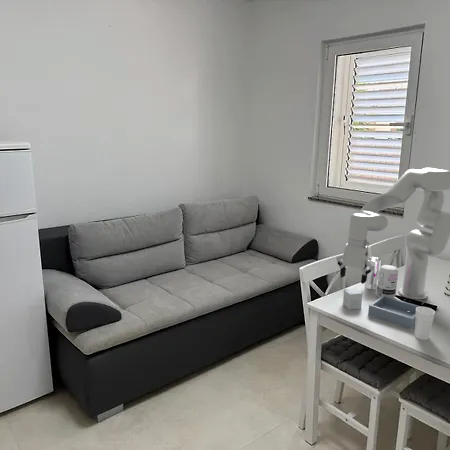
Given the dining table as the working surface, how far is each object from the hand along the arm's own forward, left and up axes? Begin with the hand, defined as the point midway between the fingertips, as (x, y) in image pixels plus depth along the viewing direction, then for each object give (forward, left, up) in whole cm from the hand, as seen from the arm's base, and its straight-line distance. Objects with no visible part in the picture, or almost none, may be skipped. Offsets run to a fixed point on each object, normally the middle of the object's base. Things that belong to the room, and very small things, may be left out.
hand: (352, 279), depth 182 cm
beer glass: (-27, -3, -13) cm, 30 cm away
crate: (-5, +18, -13) cm, 23 cm away
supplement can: (-21, +7, -13) cm, 26 cm away
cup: (+5, +32, -13) cm, 35 cm away
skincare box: (-1, 0, -13) cm, 13 cm away
